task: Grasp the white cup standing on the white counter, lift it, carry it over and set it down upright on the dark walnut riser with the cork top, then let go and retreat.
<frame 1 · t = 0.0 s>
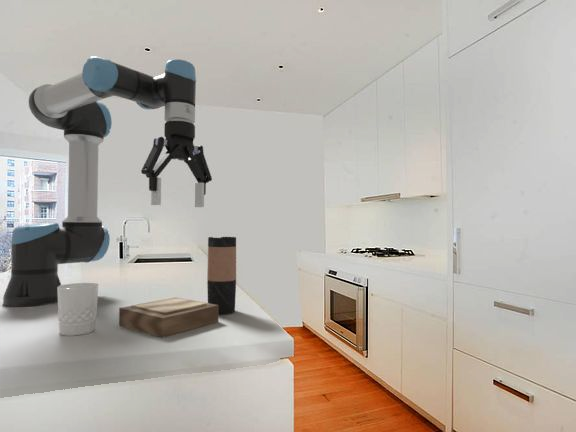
hand: (178, 206, 98), 28 cm above the counter, fingers open, 13 cm apart
white cup: (77, 332, 84), on the counter
travel mug: (221, 312, 103), on the counter
walnut riser: (169, 323, 91), on the counter
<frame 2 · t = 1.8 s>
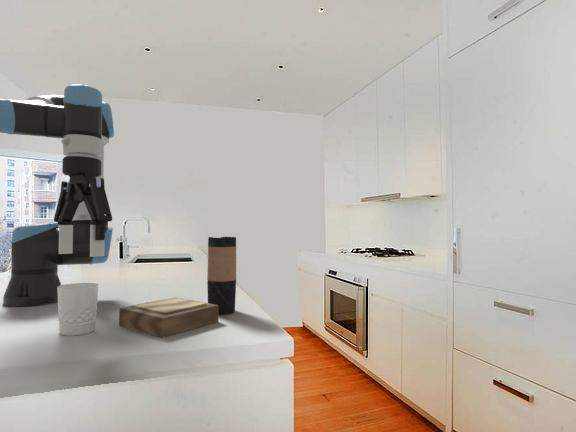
hand: (80, 255, 84), 17 cm above the counter, fingers open, 13 cm apart
nothing on the counter moved.
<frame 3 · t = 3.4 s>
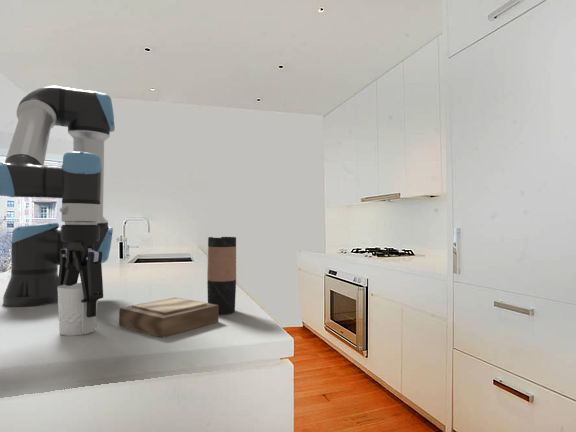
hand: (78, 328, 84), 1 cm above the counter, fingers closed on white cup, 8 cm apart
white cup: (77, 332, 84), on the counter, touching gripper
everything else where it was.
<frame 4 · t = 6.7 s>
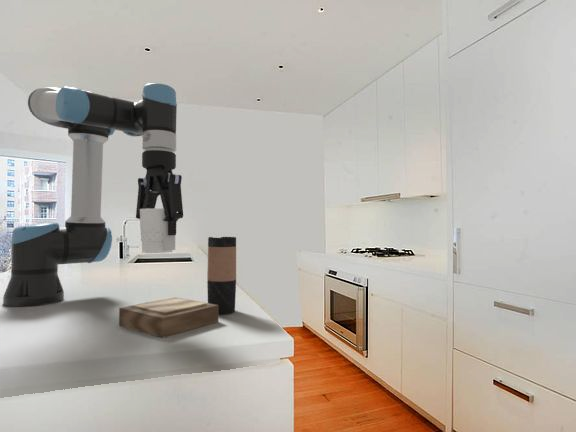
hand: (158, 249, 90), 18 cm above the counter, fingers closed on white cup, 7 cm apart
white cup: (157, 253, 90), point 17 cm above the counter, touching gripper
everything else where it was.
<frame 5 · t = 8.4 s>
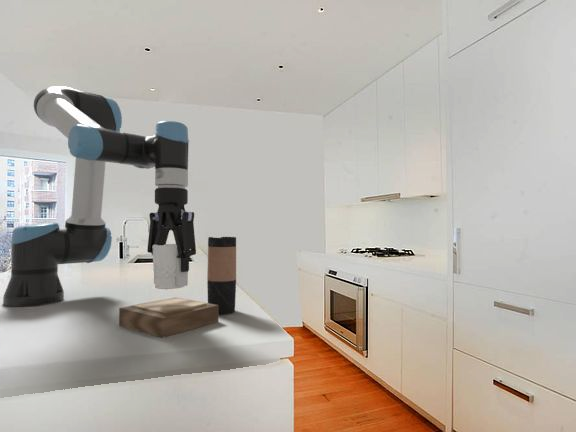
hand: (170, 284, 91), 9 cm above the counter, fingers closed on white cup, 7 cm apart
white cup: (169, 287, 91), point 8 cm above the counter, touching gripper
everything else where it was.
when the fingers open (7 cm above the counter, at t = 9.7 s): white cup drops 1 cm, resting on walnut riser.
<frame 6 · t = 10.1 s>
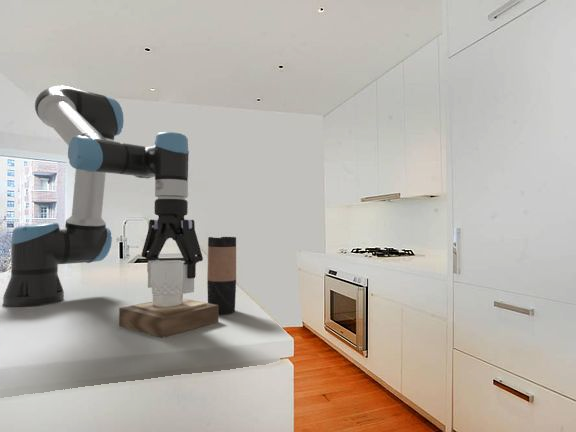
hand: (170, 289, 91), 8 cm above the counter, fingers open, 12 cm apart
white cup: (167, 305, 91), point 4 cm above the counter, touching walnut riser
everything else where it was.
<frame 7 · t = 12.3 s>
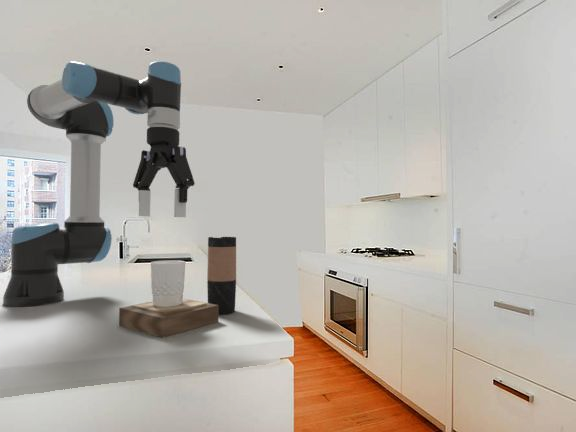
hand: (161, 216, 93), 25 cm above the counter, fingers open, 13 cm apart
nothing on the counter moved.
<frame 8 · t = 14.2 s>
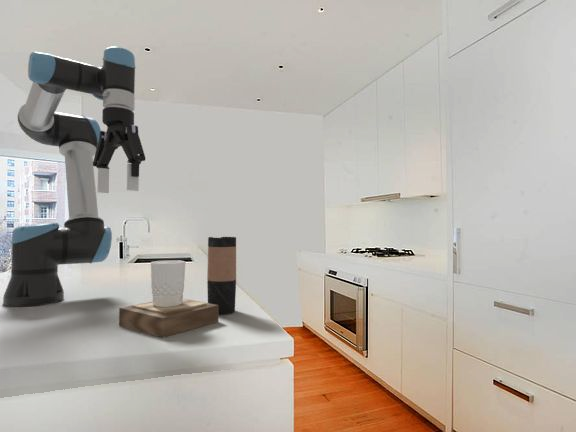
hand: (117, 191, 99), 32 cm above the counter, fingers open, 13 cm apart
nothing on the counter moved.
at the end: white cup inside the target area on the walnut riser (0.6 cm from its centre), point 4.3 cm above the walnut riser's base; white cup tilted 0°; the gripper is holding nothing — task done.
